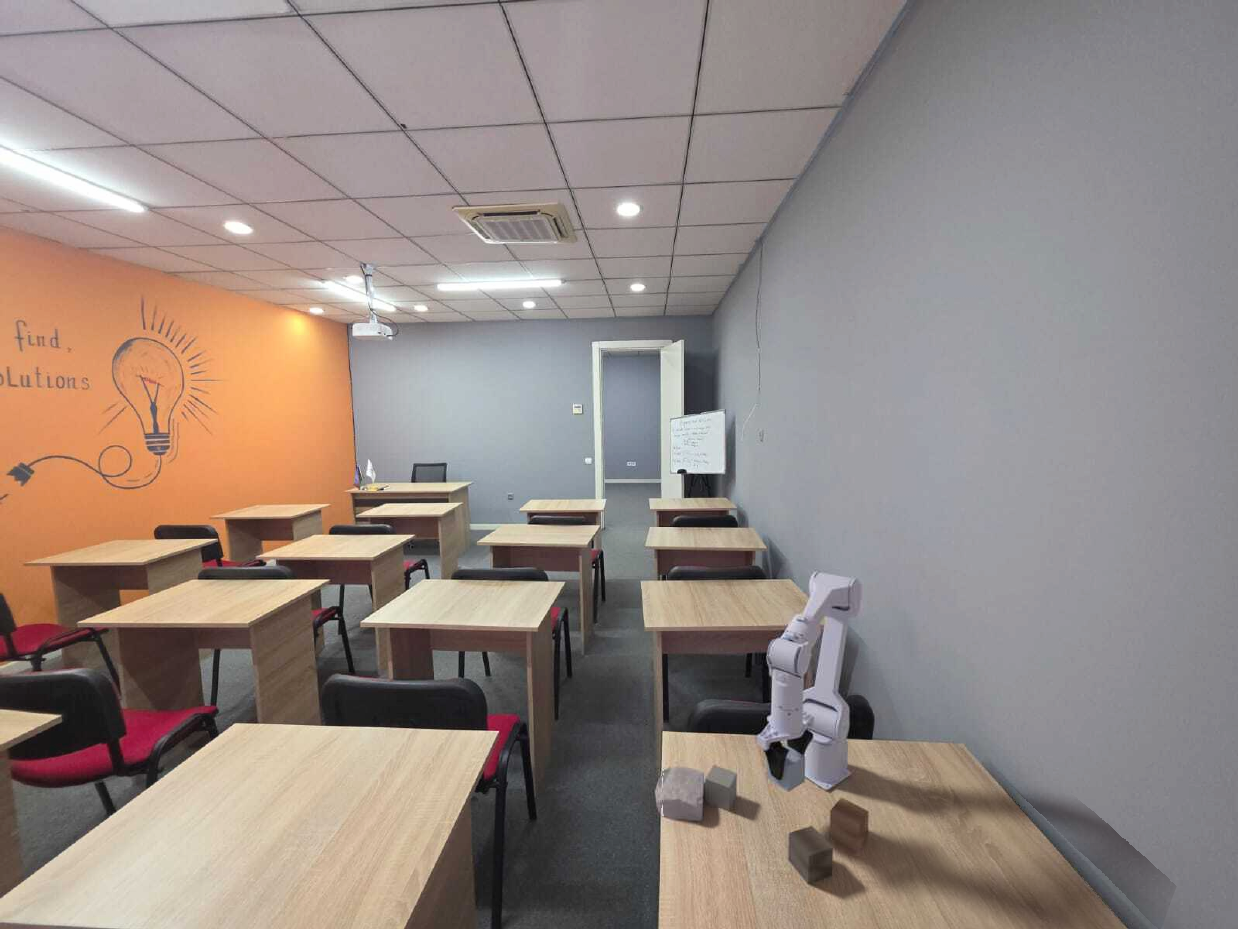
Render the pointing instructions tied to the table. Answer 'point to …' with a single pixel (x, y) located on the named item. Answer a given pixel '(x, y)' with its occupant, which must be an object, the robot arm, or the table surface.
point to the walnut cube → (849, 824)
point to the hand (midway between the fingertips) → (785, 771)
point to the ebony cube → (810, 854)
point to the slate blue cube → (790, 770)
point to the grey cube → (720, 787)
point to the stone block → (681, 793)
